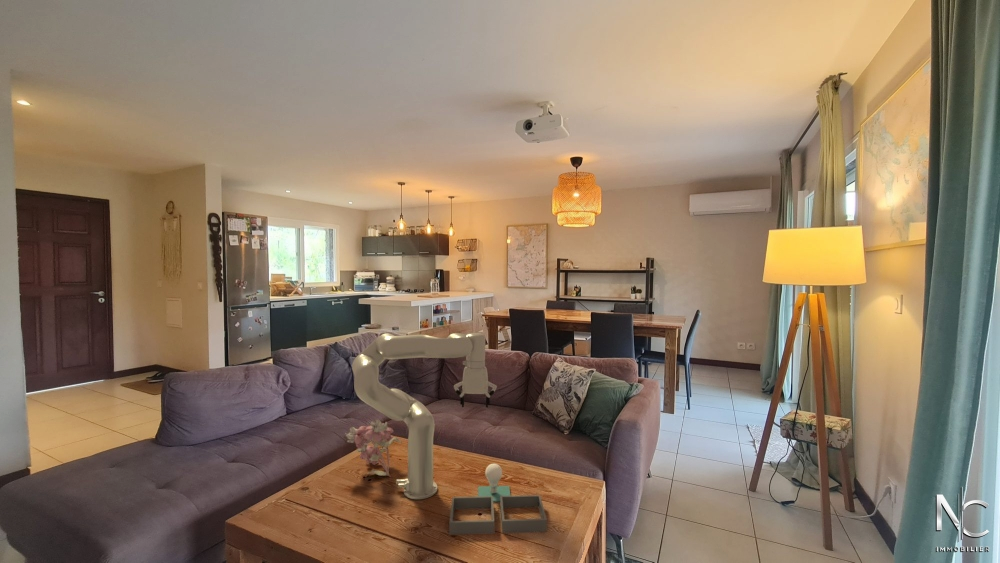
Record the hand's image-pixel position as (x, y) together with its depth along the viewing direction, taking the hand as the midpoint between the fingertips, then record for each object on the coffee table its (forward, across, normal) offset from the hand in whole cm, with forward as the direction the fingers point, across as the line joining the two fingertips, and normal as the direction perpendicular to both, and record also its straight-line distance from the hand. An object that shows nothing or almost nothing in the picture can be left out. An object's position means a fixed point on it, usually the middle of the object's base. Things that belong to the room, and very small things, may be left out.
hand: (475, 406), depth 166 cm
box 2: (+29, +18, -26) cm, 43 cm away
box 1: (+30, +1, -27) cm, 40 cm away
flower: (+30, -43, +8) cm, 53 cm away
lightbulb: (+29, +8, -12) cm, 32 cm away
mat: (+29, +8, -12) cm, 33 cm away
